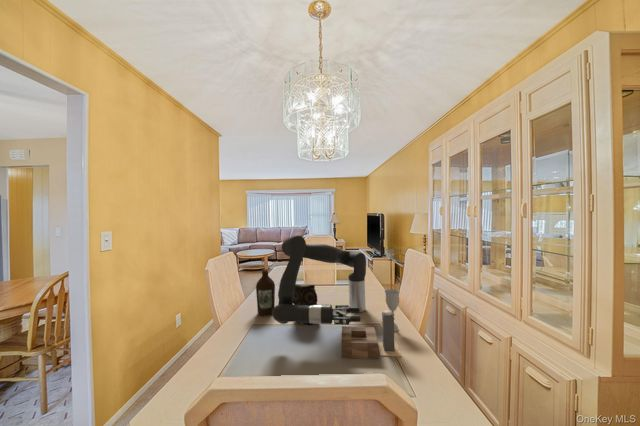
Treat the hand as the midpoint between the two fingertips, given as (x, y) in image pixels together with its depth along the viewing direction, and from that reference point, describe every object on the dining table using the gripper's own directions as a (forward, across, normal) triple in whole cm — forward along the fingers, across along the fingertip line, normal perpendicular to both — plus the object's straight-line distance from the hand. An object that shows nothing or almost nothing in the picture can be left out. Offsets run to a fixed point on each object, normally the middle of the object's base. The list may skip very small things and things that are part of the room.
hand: (359, 314), depth 107 cm
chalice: (+16, +19, +15) cm, 29 cm away
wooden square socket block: (-1, 0, +14) cm, 14 cm away
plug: (+11, 0, +14) cm, 18 cm away
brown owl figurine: (-26, +27, +14) cm, 40 cm away
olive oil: (-52, +36, +14) cm, 65 cm away
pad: (+11, 0, +14) cm, 18 cm away
